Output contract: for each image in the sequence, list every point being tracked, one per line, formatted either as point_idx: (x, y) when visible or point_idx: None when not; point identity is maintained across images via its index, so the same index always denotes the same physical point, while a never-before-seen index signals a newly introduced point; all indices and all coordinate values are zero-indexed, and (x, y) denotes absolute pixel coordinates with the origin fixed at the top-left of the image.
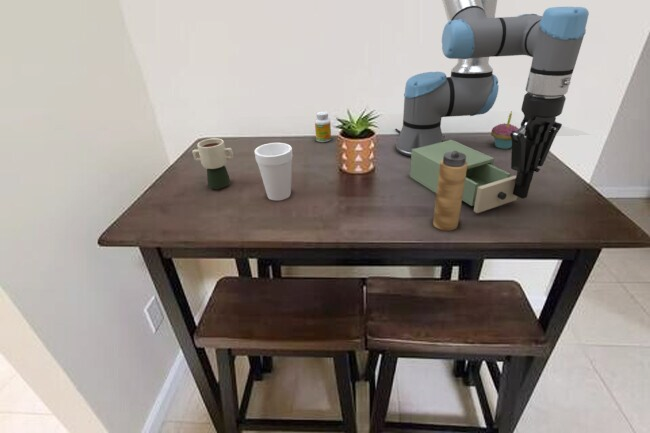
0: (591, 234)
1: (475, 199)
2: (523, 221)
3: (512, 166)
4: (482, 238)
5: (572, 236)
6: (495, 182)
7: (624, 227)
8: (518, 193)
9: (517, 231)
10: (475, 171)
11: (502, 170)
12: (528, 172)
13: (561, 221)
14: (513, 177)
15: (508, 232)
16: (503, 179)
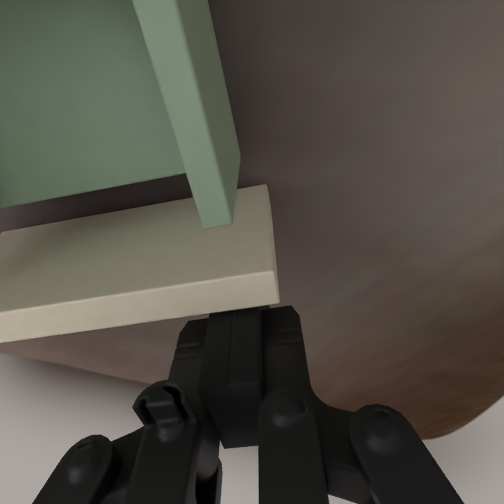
0: (347, 404)
1: (9, 181)
2: (204, 314)
3: (57, 487)
4: (15, 347)
5: None
6: (21, 320)
7: (463, 405)
8: None
9: (148, 348)
10: None
11: (198, 135)
12: (233, 441)
13: (330, 346)
14: (195, 302)
15: (116, 345)
16: (100, 305)
